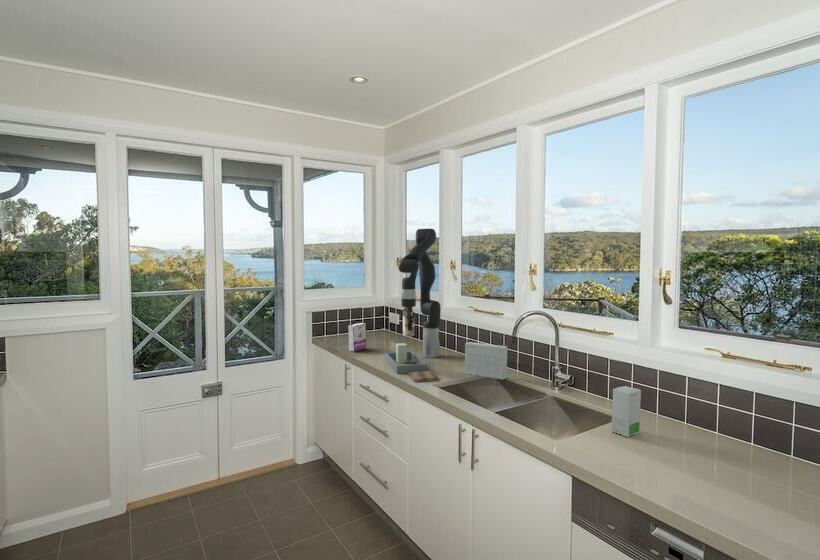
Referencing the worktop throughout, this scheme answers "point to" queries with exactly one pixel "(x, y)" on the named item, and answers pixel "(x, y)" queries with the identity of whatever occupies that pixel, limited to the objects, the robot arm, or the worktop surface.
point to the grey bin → (416, 367)
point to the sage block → (401, 353)
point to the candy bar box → (357, 337)
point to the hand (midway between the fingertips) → (408, 329)
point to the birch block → (405, 327)
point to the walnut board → (423, 376)
